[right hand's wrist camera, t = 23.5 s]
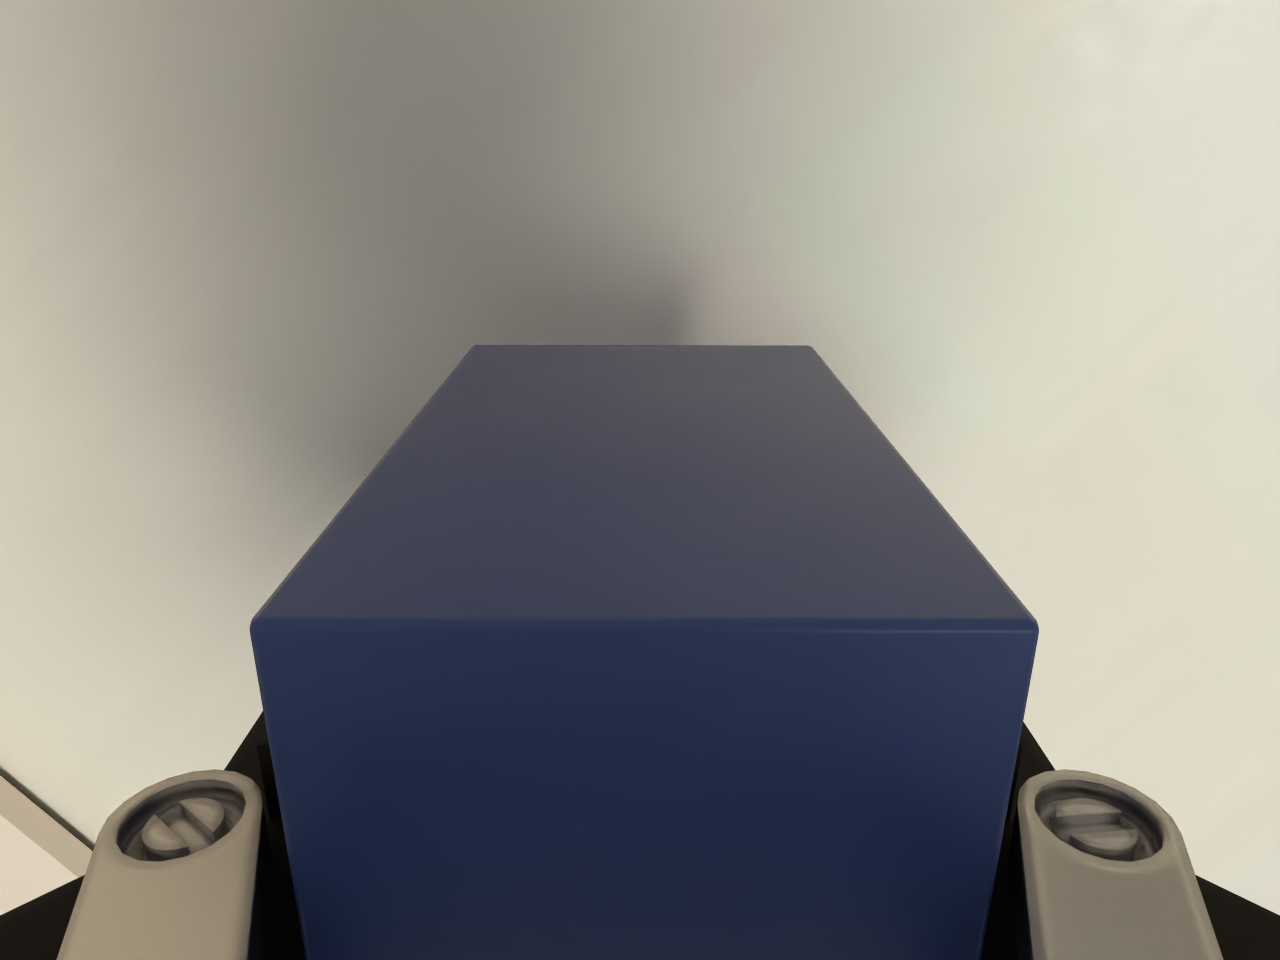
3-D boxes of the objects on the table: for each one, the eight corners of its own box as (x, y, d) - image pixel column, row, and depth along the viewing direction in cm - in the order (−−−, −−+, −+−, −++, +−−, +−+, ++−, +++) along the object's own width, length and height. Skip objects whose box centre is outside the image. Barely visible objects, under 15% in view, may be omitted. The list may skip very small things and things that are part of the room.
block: (497, 739, 16) (361, 1308, 8) (472, 343, 14) (243, 621, 6) (785, 740, 16) (921, 1310, 8) (812, 344, 14) (1044, 622, 6)
